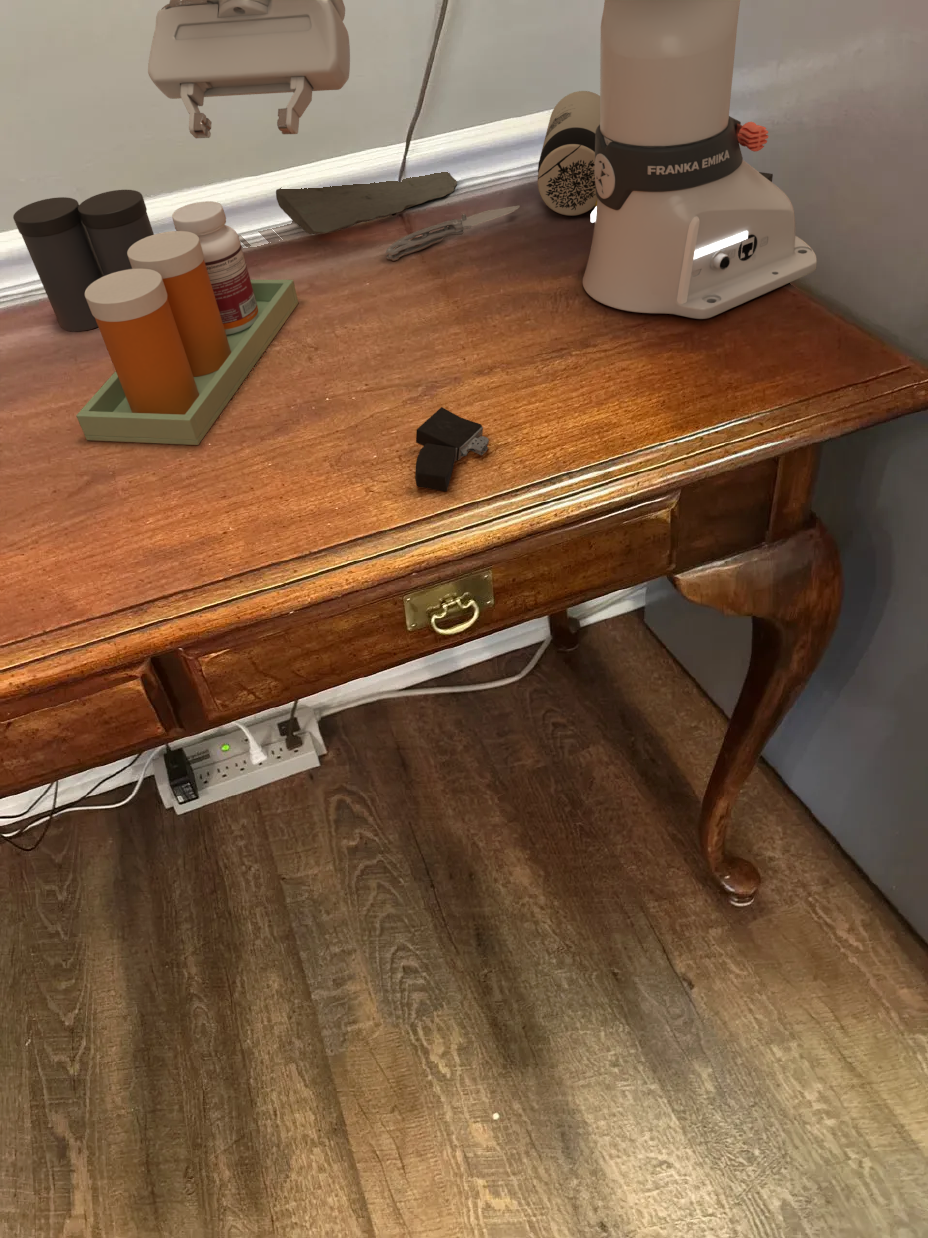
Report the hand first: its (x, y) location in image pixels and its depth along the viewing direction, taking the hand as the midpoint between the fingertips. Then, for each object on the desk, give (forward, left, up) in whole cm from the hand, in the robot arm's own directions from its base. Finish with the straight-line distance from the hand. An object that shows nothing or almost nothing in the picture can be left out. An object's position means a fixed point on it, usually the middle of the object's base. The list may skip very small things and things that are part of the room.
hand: (242, 133), depth 93 cm
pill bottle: (+7, +10, -14) cm, 19 cm away
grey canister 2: (+14, +1, -14) cm, 20 cm away
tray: (+11, +16, -14) cm, 24 cm away
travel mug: (-42, -10, -10) cm, 44 cm away
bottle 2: (+15, +23, -14) cm, 31 cm away
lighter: (-2, +40, -13) cm, 42 cm away
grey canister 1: (+20, -1, -14) cm, 25 cm away
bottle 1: (+11, +16, -14) cm, 24 cm away
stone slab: (-16, -6, -13) cm, 22 cm away
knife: (-20, +4, -13) cm, 25 cm away
